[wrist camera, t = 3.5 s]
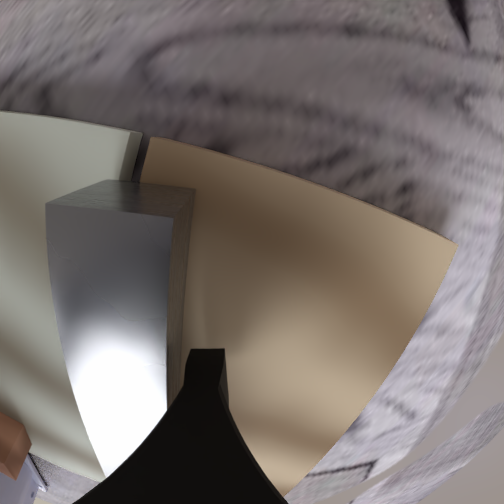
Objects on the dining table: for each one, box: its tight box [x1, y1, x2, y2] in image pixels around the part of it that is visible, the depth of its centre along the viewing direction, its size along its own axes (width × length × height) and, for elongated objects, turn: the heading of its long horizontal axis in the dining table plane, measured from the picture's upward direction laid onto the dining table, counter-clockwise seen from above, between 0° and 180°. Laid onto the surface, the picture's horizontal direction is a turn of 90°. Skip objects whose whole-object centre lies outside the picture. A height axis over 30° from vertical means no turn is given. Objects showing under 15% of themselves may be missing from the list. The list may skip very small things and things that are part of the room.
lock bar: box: [45, 179, 196, 478], centre depth 8 cm, size 15×3×3 cm, turn 171°
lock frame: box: [0, 110, 458, 497], centre depth 9 cm, size 20×23×4 cm
